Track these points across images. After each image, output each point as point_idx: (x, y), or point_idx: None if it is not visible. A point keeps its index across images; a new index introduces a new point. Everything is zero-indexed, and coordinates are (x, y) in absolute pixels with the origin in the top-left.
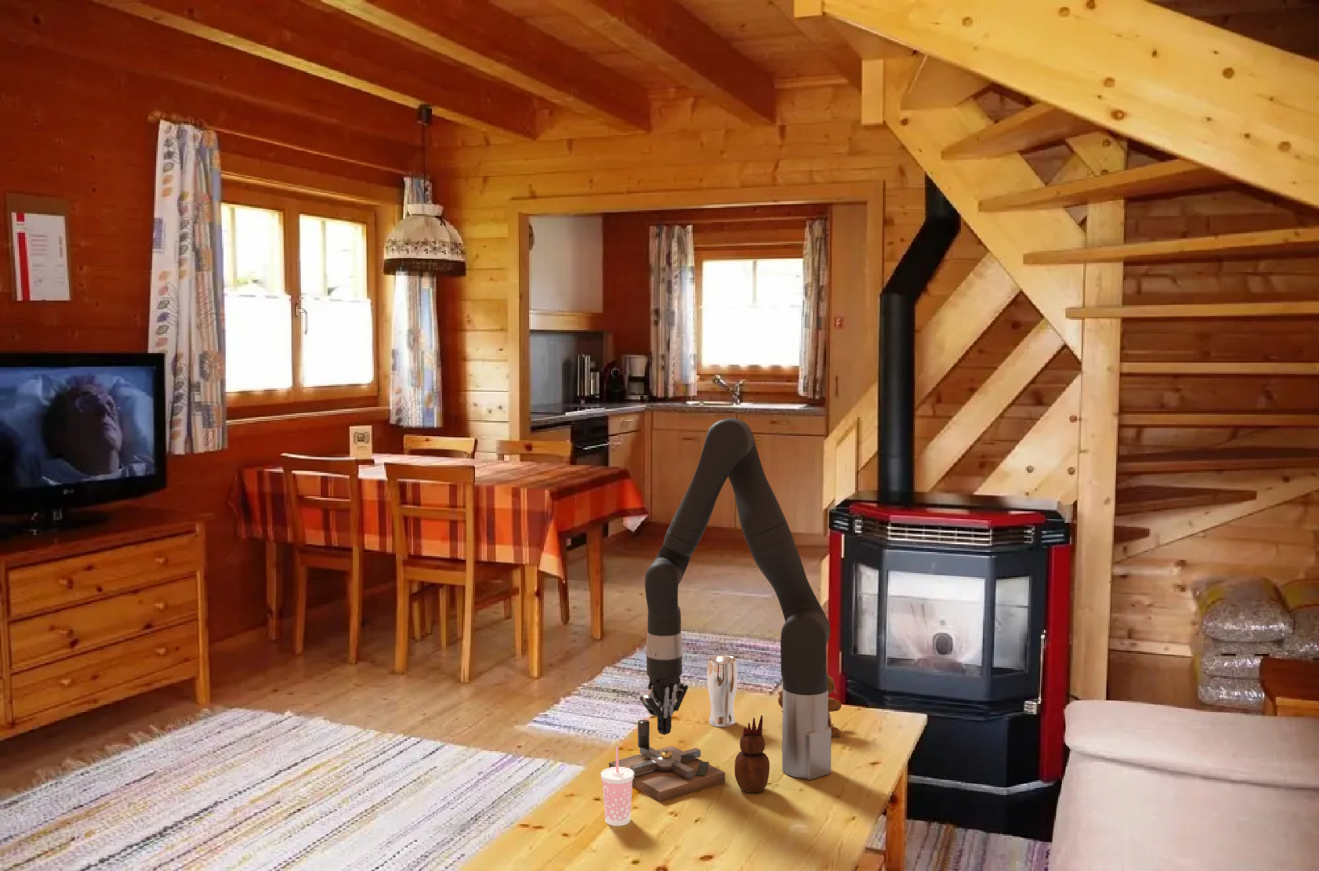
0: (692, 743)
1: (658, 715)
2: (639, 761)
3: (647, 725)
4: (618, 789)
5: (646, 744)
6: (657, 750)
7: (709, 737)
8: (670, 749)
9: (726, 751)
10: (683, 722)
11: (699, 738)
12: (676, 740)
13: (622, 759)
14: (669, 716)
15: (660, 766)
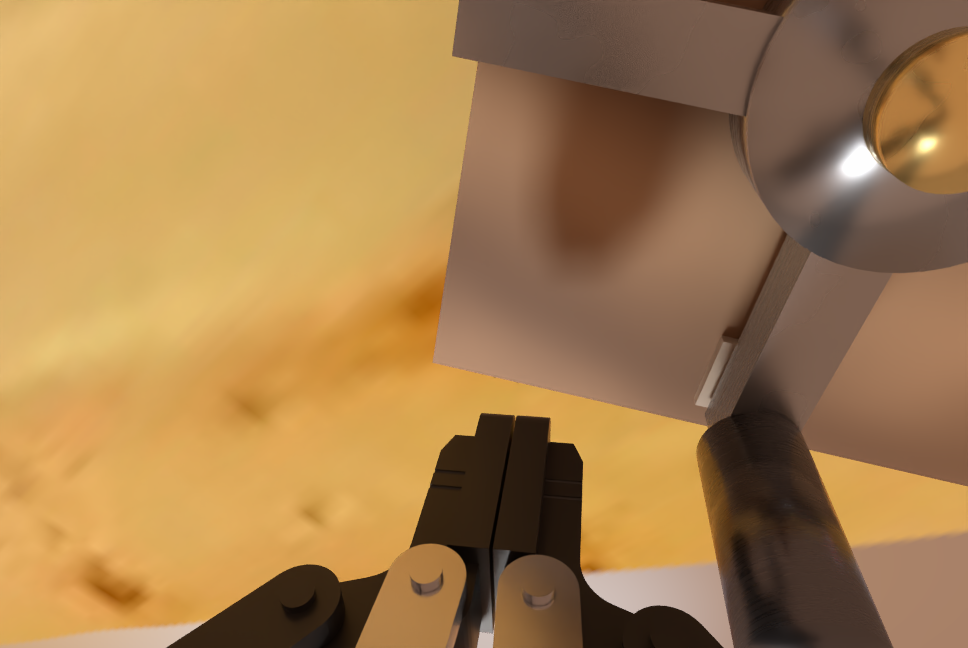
0: (215, 343)
1: (711, 645)
2: (878, 353)
3: (831, 596)
4: None
5: (784, 436)
6: (584, 382)
7: (69, 324)
8: (497, 326)
9: (87, 70)
10: (93, 531)
11: (133, 358)
12: (267, 434)
13: (903, 464)
14: (453, 554)
15: None
